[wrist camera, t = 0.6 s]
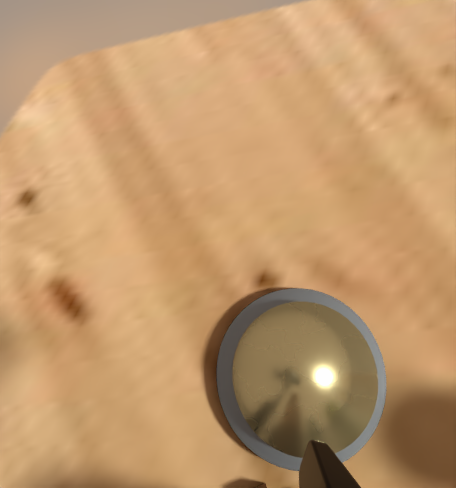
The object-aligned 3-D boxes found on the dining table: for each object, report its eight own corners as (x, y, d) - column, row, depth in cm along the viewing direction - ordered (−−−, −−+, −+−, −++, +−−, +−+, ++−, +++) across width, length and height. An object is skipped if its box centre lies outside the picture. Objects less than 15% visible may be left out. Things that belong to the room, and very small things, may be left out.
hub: (395, 420, 21) (403, 424, 20) (261, 476, 19) (263, 483, 19) (336, 285, 23) (341, 282, 22) (213, 328, 22) (213, 328, 21)
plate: (409, 427, 21) (416, 431, 20) (250, 495, 20) (251, 501, 19) (339, 269, 24) (343, 267, 23) (195, 320, 23) (194, 319, 22)
